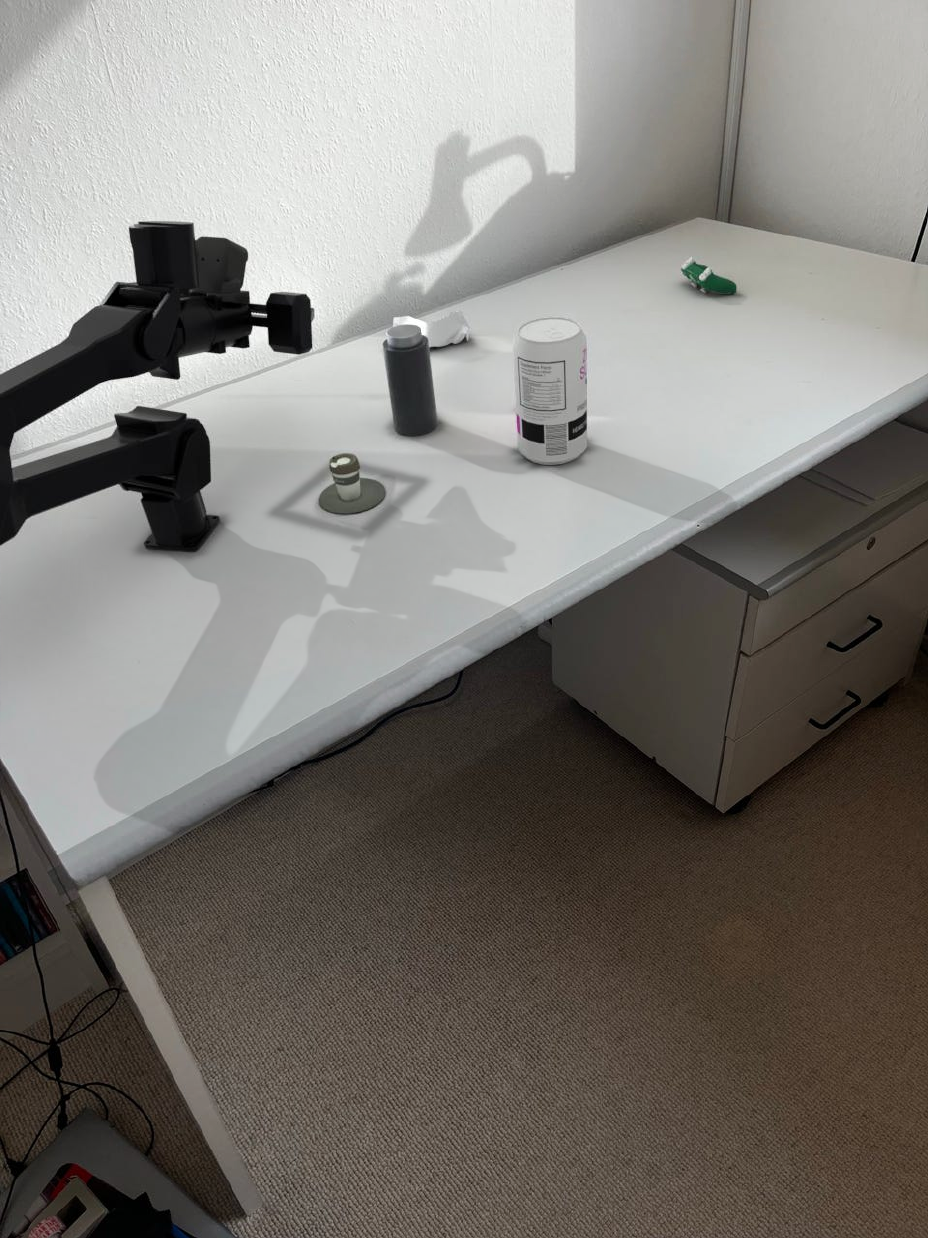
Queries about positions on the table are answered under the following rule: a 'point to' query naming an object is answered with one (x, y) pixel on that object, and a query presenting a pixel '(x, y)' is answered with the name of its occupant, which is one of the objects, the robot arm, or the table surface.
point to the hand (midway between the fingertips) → (281, 309)
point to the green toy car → (707, 278)
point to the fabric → (440, 328)
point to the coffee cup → (350, 488)
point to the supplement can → (551, 390)
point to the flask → (410, 380)
